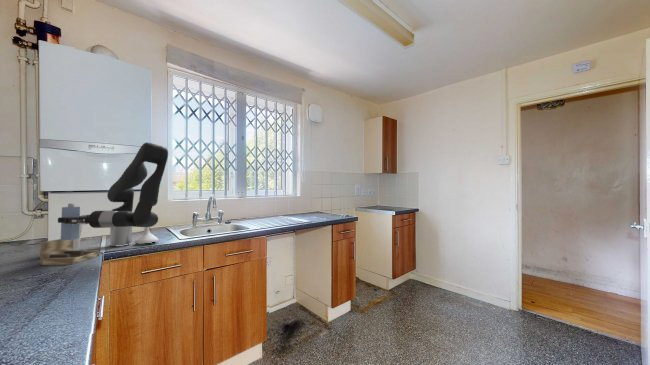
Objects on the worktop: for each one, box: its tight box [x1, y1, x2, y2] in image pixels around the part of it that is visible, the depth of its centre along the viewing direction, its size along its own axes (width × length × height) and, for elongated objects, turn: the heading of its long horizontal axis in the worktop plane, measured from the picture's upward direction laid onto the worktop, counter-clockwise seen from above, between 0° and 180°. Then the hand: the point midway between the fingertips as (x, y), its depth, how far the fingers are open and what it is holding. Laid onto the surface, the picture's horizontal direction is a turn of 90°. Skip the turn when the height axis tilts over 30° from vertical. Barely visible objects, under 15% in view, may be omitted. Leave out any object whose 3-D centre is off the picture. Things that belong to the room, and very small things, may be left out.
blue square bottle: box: [60, 203, 81, 240], centre depth 111 cm, size 4×4×16 cm
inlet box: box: [39, 238, 100, 266], centre depth 110 cm, size 14×12×9 cm
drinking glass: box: [73, 224, 83, 250], centre depth 124 cm, size 7×7×15 cm
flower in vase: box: [134, 227, 159, 245], centre depth 146 cm, size 13×11×25 cm
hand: (63, 219), depth 110 cm, fingers closed on blue square bottle, 4 cm apart
